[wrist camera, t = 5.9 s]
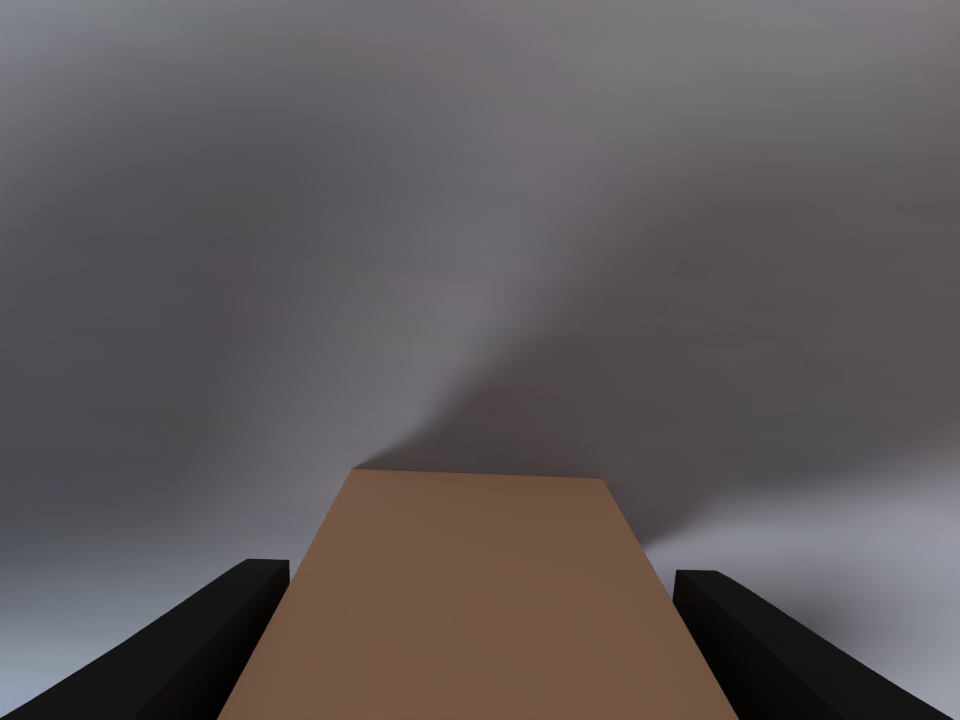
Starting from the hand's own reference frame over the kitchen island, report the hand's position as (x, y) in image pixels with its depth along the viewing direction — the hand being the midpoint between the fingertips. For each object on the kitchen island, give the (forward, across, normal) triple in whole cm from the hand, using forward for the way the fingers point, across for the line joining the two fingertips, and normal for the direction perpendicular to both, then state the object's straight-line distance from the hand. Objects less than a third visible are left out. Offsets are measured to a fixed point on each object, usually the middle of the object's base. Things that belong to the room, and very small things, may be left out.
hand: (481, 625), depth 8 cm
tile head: (+3, 0, 0) cm, 3 cm away
